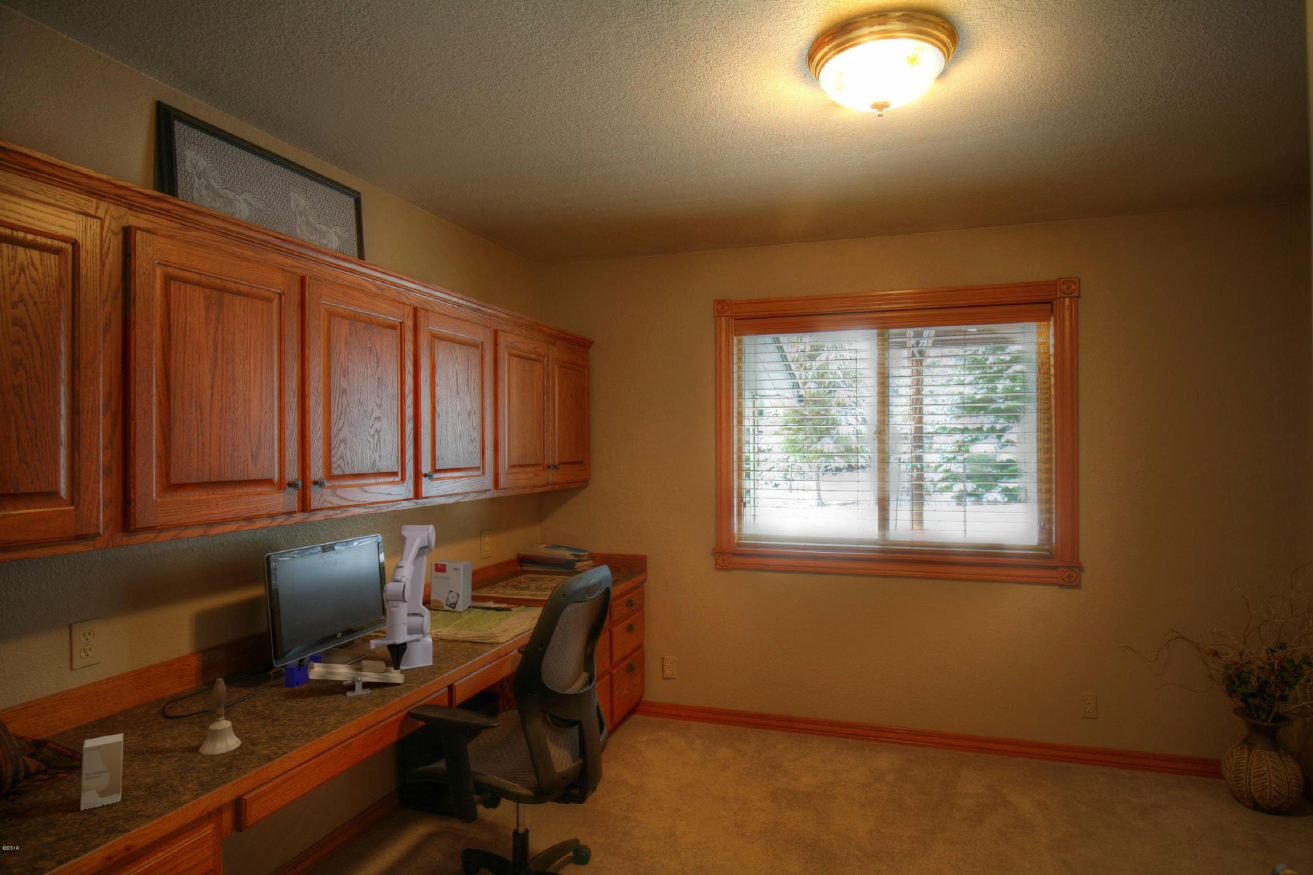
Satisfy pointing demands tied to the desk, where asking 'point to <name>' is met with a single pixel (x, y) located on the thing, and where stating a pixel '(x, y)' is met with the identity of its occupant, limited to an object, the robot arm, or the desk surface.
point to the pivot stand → (356, 686)
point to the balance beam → (352, 673)
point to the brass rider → (372, 666)
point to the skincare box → (101, 771)
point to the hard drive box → (451, 584)
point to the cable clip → (298, 678)
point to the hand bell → (219, 726)
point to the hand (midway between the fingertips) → (396, 669)
